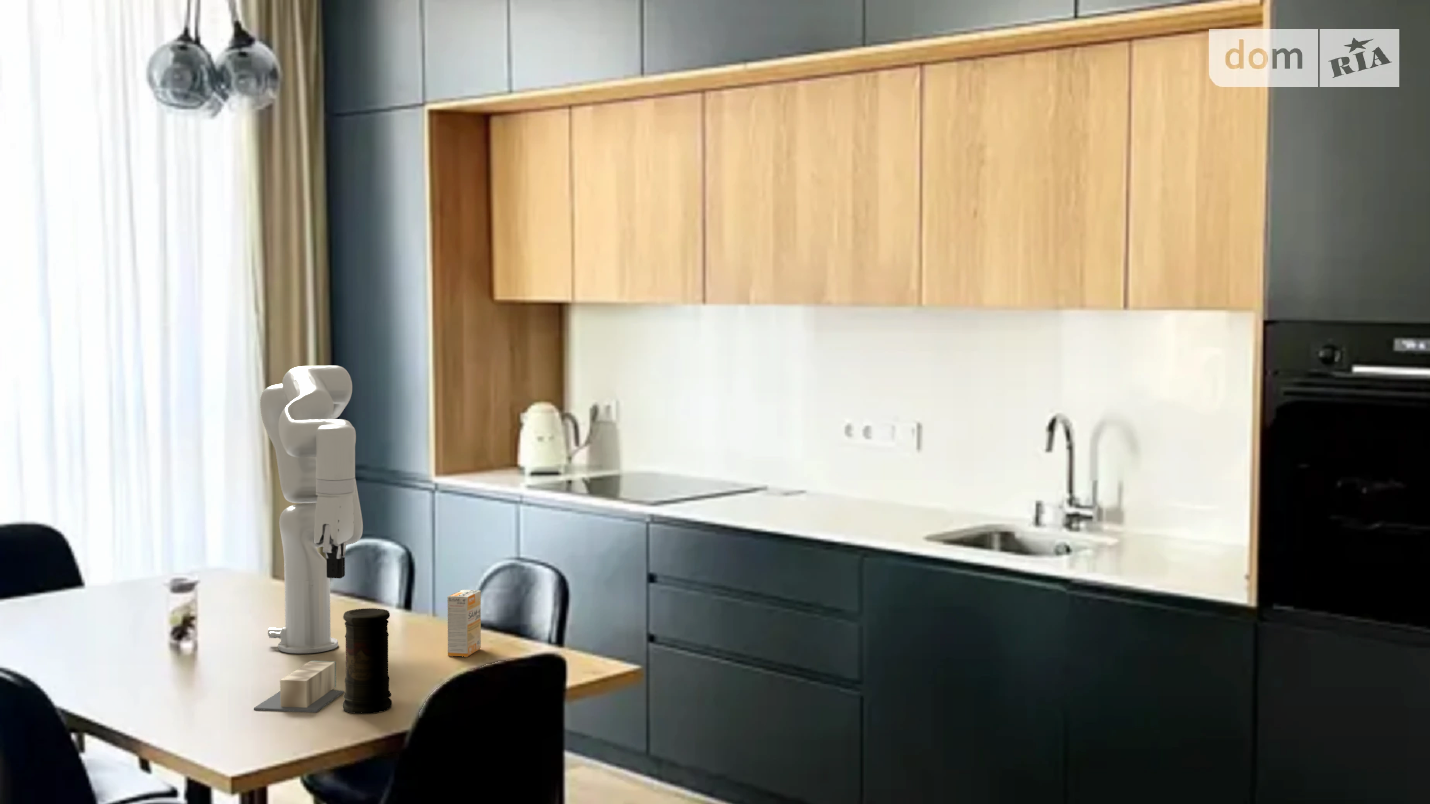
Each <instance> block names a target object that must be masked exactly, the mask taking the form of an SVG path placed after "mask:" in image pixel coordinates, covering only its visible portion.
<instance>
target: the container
mask: <svg viewBox="0 0 1430 804" xmlns="http://www.w3.org/2000/svg"><path fill="white" fill-rule="evenodd" d="M390 615H391V613H390V610H388V609H382V608H376V607H375V608H373V607H372V608H368V607H367V608H366V607H365V608H357V609H351V610H347V611H345V612H344V613H343V615H342V619H343V620H344V621H345V622H344V626H345V635H344V637H345V677H344V678H345V679H344V683H345V688H344V689H345V690H344V693H343V694H342V695H343V696H342V697H343V699H344V700H343V702H342V705H341V706H342V709H343V710H344V711H345V712H347V713H351V714H354V715H355V714H357V715H359V714H360V715H369V714H377V713H382V712H386V711H388V710H390V709H391V708H392V705H393V701H392V699H391V696H392V692H391V691H390V676H389V632H388V629H389V628H388V625H389V619H390V617H391V616H390Z"/></svg>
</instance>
